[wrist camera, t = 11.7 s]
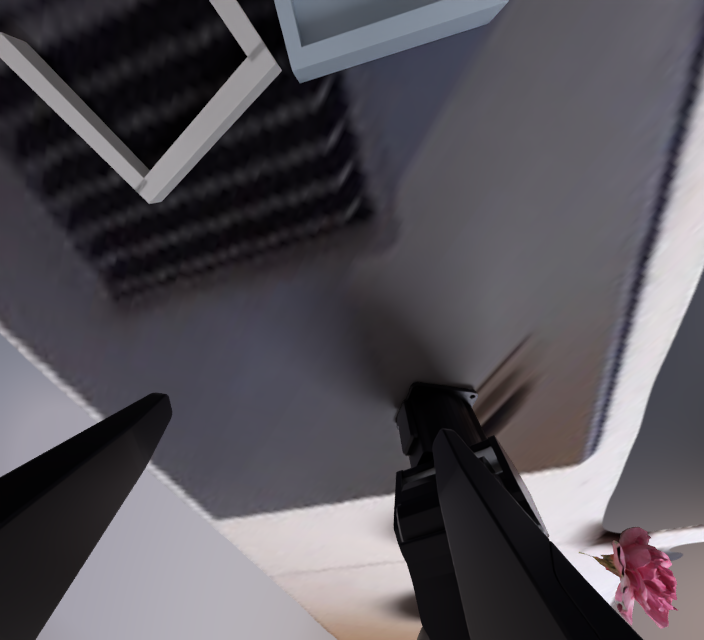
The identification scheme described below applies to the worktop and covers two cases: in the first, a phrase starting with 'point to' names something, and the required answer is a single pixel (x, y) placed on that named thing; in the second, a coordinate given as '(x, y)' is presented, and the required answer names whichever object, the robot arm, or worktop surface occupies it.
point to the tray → (370, 29)
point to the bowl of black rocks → (423, 635)
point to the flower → (641, 576)
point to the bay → (196, 136)
